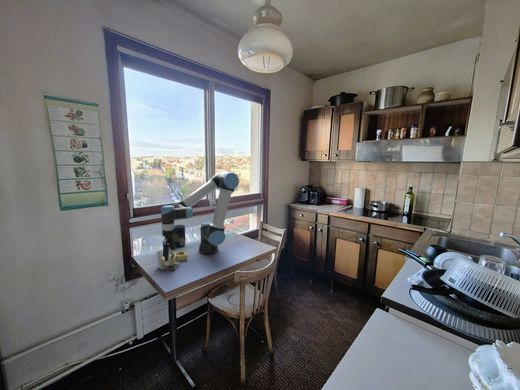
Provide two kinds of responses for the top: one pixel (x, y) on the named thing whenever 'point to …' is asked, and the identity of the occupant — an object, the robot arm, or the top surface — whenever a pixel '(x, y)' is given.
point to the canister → (179, 235)
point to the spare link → (181, 256)
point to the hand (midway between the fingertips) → (169, 262)
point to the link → (171, 261)
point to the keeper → (166, 267)
